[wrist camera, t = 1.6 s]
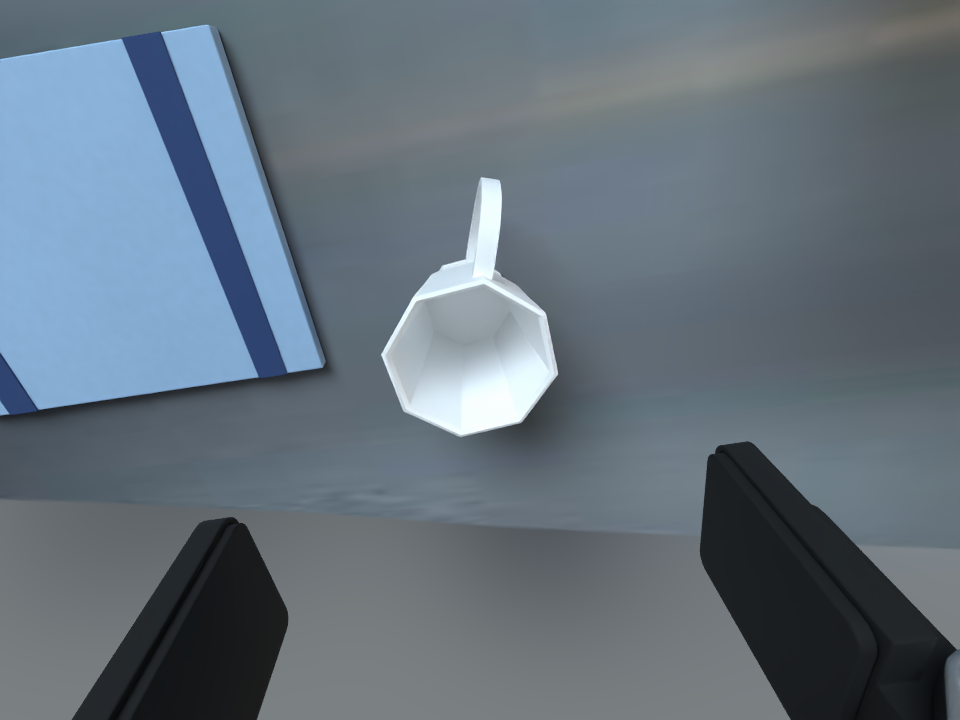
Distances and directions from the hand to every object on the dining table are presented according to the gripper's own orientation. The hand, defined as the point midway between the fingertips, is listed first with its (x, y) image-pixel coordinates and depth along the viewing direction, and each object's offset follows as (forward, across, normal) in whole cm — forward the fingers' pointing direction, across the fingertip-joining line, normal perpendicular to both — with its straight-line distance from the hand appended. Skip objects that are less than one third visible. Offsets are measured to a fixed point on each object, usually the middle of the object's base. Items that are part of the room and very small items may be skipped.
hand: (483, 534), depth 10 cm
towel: (+18, +19, -5) cm, 26 cm away
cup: (+18, 0, -1) cm, 18 cm away
